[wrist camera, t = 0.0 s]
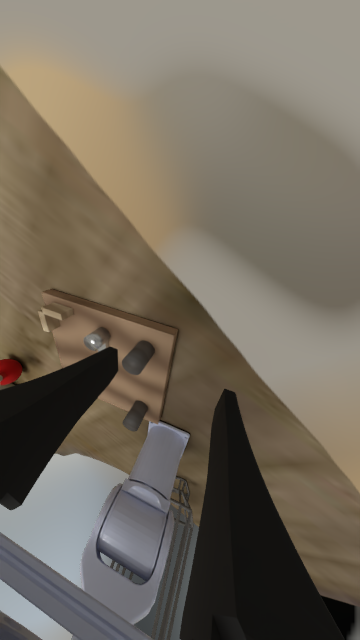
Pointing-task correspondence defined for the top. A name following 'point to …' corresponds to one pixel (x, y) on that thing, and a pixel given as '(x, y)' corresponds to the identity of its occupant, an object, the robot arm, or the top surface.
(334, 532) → the top surface
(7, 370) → the molecular model
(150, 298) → the top surface
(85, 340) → the metal crank handle
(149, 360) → the wooden board with pegs
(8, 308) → the top surface
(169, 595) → the geometric lantern
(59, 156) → the top surface
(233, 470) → the robot arm
